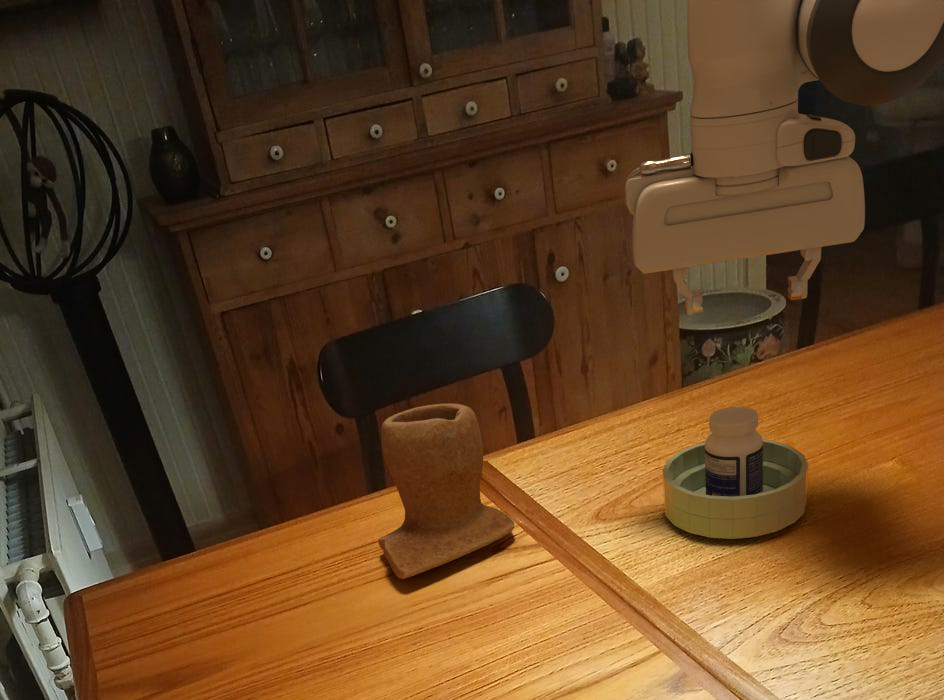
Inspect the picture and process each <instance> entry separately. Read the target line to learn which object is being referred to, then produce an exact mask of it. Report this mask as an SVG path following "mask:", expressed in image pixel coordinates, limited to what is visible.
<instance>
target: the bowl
mask: <svg viewBox="0 0 944 700" xmlns="http://www.w3.org/2000/svg"><path fill="white" fill-rule="evenodd" d="M762 439H763V492H762V493H758V494H754V495H744V496H734V497H731V496H710V495H706V478H705V441H704V442H701V443H697V444H693V445H691V446H688V447H685V448H684V449H682V450H679V451H678V452H676V453H675V454H673V455H672V456H671V457H670V458H668V459H667V461H666V462H665V464H664V466H663V468H662V489H663V508H664V514H665V518H666V519H668V520H669V522H671V523H672V525H673V526H674V527H676V528H677V529H681V530H683V531H685V532H687V533H688V534H692V535H698V536H702V537H705V538H711V539H723V540H738V539H750V538H756V537H757V538H758V537H760V536H764V535H768V534H772V533H776V532H779V531H780V530H783V529H785V528H787V527H789V526H791V525H793V524H795V523H796V522H797V521H798V520H799V519H800V518H801V517H803V515H804V514H805V510H806V507H807V504H808V483H809V461H808V460H807V458H806V457H805V455H804V454H803V453H802V452H800V451H799V450H798V449H797V448H795V447H793V446H791V445H788V444H785V443H783V442H779V441H777V440H771V439H764V438H762Z"/></svg>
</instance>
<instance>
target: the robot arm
mask: <svg viewBox="0 0 944 700" xmlns="http://www.w3.org/2000/svg"><path fill="white" fill-rule="evenodd" d="M686 7H687V9H686V10H687V14H686V15H687V16H686V17H687V18H686V20H687V21H686V25H687V31H686V32H687V33H686V34H687V37H686V38H687V58H688V63H689V66H690V69H691V72H692V79H693V94H692V99H691V103H690V107H689V108H690V109H689V117H690V118H689V120H690V144H691V146H690V147H691V148H690V149H691V151H690V153H684V154H680V155H674V156H671V157H668V158H667V157H666V158H664V159H661V160H656V159H652V160H647V161H643V162H640V164H639V167H637V168H635V169H633V170H632V171H631V172H630V173H629V175H627V177H626V180H625V182H624V188H623V189H624V201H625V202H624V203H625V208H626V210H627V212H628V213H629V214H630V215H631V217H632V228H631V252H632V262H633V265H634V266H635V268H637V269H638V271H640V272H641V273H642V274H652V273H658V272H659V273H660V272H665V271H671V276H672V279H673V282H674V283H675V285H676V286H677V288H678V289H679V291H680V292H681V293H682V295H683V296H684V303H685V304H684V306H685V313H686V316H693V315H698V314H704V307H703V302H704V298H703V297H704V296H703V293H702V291H701V289H697V290H692V289H691V287H690V286H689V284H688V282H687V281H686V280H688V279H690V268H691V267H697V266H698V267H699V266H704V265H705V266H706V265H712V264H717V263H723V262H724V263H725V262H731V261H737V260H744V259H751V258H757V257H758V258H759V257H763V256H770V255H776V254H783V253H784V254H785V253H790V252H794V251H795V252H796V251H797V252H798V251H800V256H801V257H802V258H803V259H804V260H803V262H802V264H801V266H800V267H799V270H798V271H797V274H796V275H792V276H787V285H788V288H787V298H788V299H789V300H790V301H795V300H803V299H807V298H808V286H809V285H808V284H809V283H808V280H810V279H811V277H812V275H813V274H814V272H815V270H816V268H817V266H818V265H819V263H820V262H821V260H822V248H823V247H829V246H836V245H841V244H842V245H843V244H850V243H853V242H855V241H857V239H858V238H859V236H860V235H861V233H862V232H863V231H864V229H865V224H866V223H865V222H866V201H865V200H866V199H865V187H864V177H863V174H862V170H861V167H860V166H859V164H858V162H857V161H855V160H854V159H853V158H852V157H850V155H851V154H852V153H854V150H855V144H856V134H855V132H854V129H853V128H851V127H850V126H849V125H848V124H846V123H844V122H842V121H840V120H837V119H833V118H829V117H823V116H818V115H815V114H803V113H799V91H800V88H801V86H803V85H804V84H805V83H809V82H816V81H820V83H821V84H822V85H823V87H824V88H825V89H826V90H827V91H828V92H829V93H830V94H831V95H832V96H834V97H835V98H837V99H839V100H841V101H843V102H845V103H849V104H850V105H857V106H865V107H867V106H869V107H870V106H879V105H884V104H888V103H891V102H894V101H897V100H900V99H901V98H903V97H905V96H907V95H909V94H910V93H911V92H913V91H915V90H916V89H918V88H920V86H921V85H923V84H924V83H925V82H926V81H927V80H928V79H929V78H931V76H932V75H933V74H934V73H935V72H936V70H937V69H938V68H939V67H940V65H941V64H942V63H943V62H944V0H687V6H686ZM639 173H640V175H638V174H639ZM636 175H637V176H636Z"/></svg>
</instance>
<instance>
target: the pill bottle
mask: <svg viewBox="0 0 944 700" xmlns="http://www.w3.org/2000/svg"><path fill="white" fill-rule="evenodd" d="M708 421H709V422H708V423H709V424H708V426H709V431H710V432H711V433H710V434H709V435H708V436H707V437H706V439H705V441H704V442H705V478H706V495H710V496H731V497H734V496H744V495H754V494H758V493H762V492H763V439H764V438H763V437H762V434H760V432H758V431H757V430H756V429H757V428H758V427H759V413H758V412H757V410H755V409H754V408H750V407H747V406H730V407H724V408H721V409H717V410H716V411H714V412H713V413H711V414H710V416H709V419H708Z"/></svg>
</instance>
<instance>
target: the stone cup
mask: <svg viewBox="0 0 944 700" xmlns="http://www.w3.org/2000/svg"><path fill="white" fill-rule="evenodd" d="M380 439H381V442H380V443H381V450H382V451H381V452H382V457H383V459H384V463H385V466H386V468H387V469H388V472H389V474H390V476H391V479H392V481H393V484H394V485H395V488H396V490H397V492H398V494H399V499H400V500H401V502H402V506H403V509H404V520H403V522H402V524H401V526H399V527H398V528H396V529H395V530H393V531H391V532H390V533H387V534H385V535H383V536H381V537H379V539H378V541H377V543H378V545H379V547H380V549H381V550H382V551H383V555H384V558H385V559H386V560H387V563H388V564H389V565H390V568H391V570H392V572H393V573H394V575H395V576H396V577H397V579H401V580H405V579H409V578H411V577H414V576H417V575H419V574H422V573H424V572H427V571H430V570H431V569H434V568H437V567H441V566H442V565H445V564H447V563H449V562H451V561H454V560H457V559H459V558H461V557H463V556H466V555H468V554H471V553H472V552H475V551H477V550H479V549H482V548H484V547H486V546H488V545H490V544H492V543H494V542H497V541H498V540H500V539H502V538H504V537H506V536H508V535H509V534H510V533H512V532H513V530H514V529H515V522H514V520H513V519H512V518H511V517H510V516H509V515H508V514H507V513H505V512H503V511H502V510H500V509H499V508H496V507H493V506H490V505H485V504H483V503H482V499H481V480H482V474H483V467H484V444H483V437H482V432H481V427H480V424H479V421H478V417H477V415H476V413H475V411H474V410H473V409H472V408H471V407H470V406H467V405H464V404H459V403H435V404H427V405H422V406H421V405H420V406H417V407H413V408H409V409H406V410H404V411H401V412H398V413H396V414H393V415H391V416H389V417H387V418H386V419H384V421H383V423H382V426H381V438H380Z"/></svg>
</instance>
